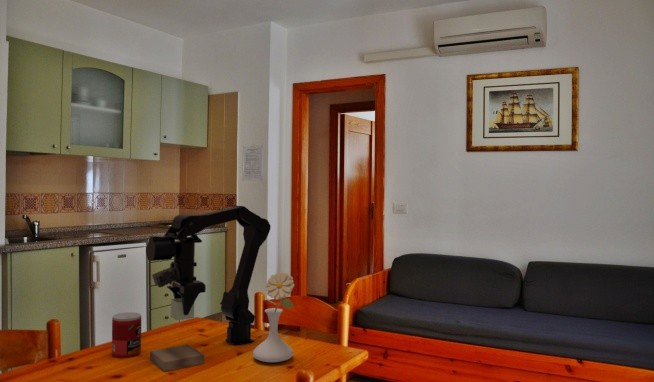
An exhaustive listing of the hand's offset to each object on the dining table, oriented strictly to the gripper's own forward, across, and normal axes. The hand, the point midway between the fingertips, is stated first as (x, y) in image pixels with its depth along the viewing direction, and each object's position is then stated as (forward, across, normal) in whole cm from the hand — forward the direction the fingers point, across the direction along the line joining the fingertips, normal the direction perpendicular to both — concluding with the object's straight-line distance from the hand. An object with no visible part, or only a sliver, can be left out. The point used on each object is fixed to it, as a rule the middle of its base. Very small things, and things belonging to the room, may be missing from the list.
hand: (182, 313), depth 147 cm
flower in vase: (+12, +18, +20) cm, 30 cm away
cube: (+1, 0, 0) cm, 1 cm away
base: (+12, +5, -3) cm, 13 cm away
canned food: (+12, -9, -13) cm, 20 cm away
